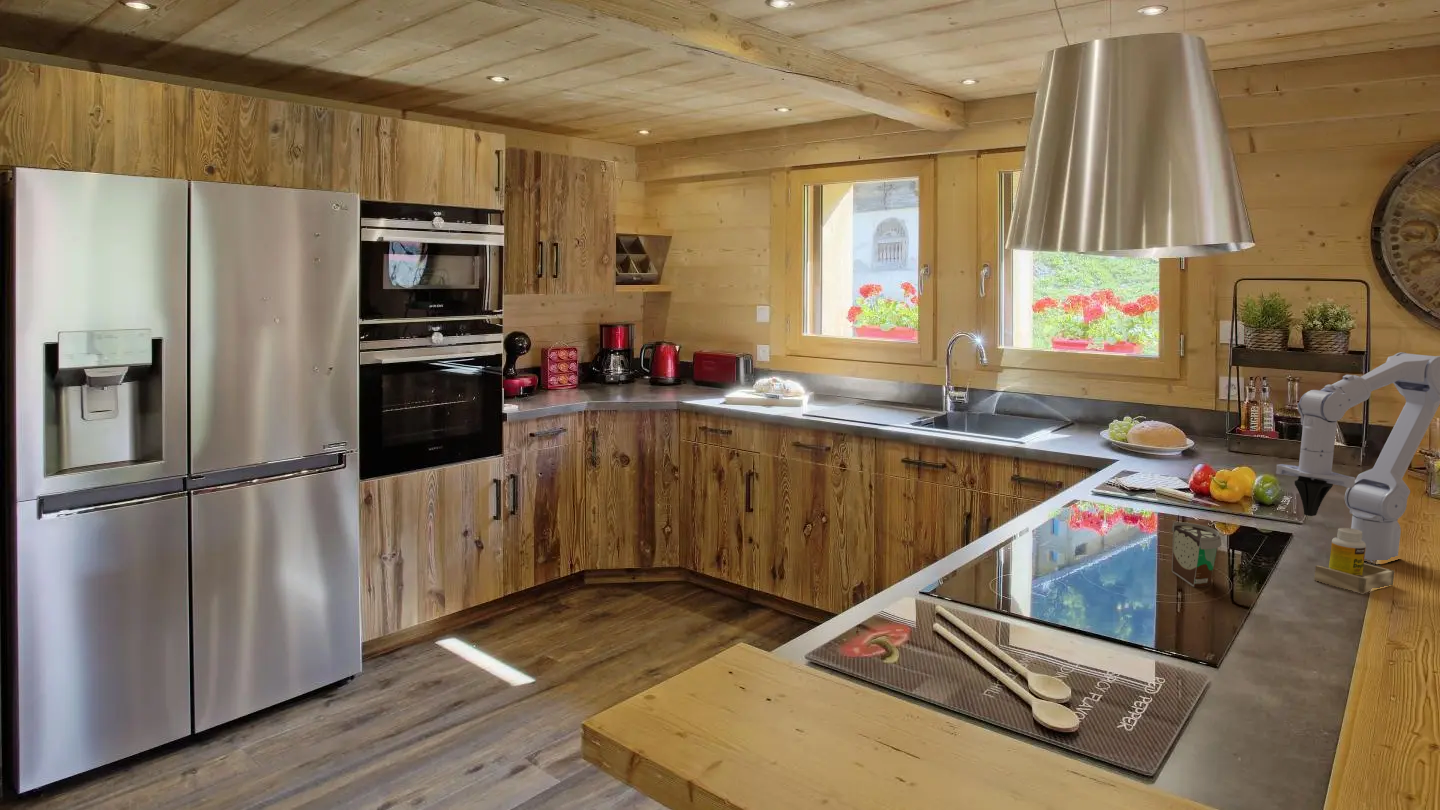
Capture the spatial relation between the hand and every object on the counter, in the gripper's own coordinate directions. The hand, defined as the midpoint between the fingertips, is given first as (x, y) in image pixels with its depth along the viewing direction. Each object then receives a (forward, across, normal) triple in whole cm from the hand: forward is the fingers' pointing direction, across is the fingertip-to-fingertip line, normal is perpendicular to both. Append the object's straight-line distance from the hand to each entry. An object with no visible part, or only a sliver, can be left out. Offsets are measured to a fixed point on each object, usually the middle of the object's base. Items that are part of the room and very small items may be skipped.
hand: (1310, 514), depth 194 cm
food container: (+11, -4, -29) cm, 31 cm away
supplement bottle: (+11, +10, -4) cm, 15 cm away
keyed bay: (+10, +11, -4) cm, 16 cm away
